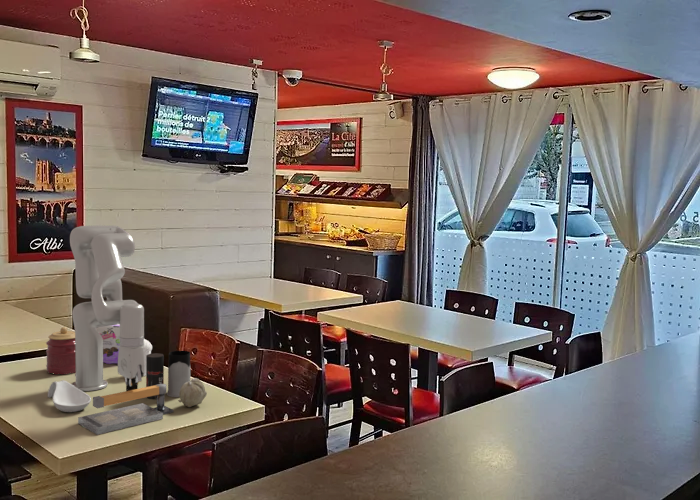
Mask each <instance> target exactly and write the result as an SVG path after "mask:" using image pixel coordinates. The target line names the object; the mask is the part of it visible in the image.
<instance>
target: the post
mask: <svg viewBox="0 0 700 500" xmlns="http://www.w3.org/2000/svg"><path fill="white" fill-rule="evenodd" d="M153 408H154V409H156V410H158V411H160V412H162V413H163V415H168V414H171V413H174V409H173V408H171V407H168V406H166V405H165V394H159V395H157V399H156V407H153Z"/></svg>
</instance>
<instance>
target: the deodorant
mask: <svg viewBox="0 0 700 500" xmlns="http://www.w3.org/2000/svg"><path fill="white" fill-rule="evenodd" d="M164 355H165V354H163V353H157V352H156V353H154V352H153V353H151V354H148V355H146V376H145V377H146V378H145V381H146V382H145V383H146V385H145V387H149V386H154V385H157V384H165V383H164V380H165V379H164V376H165V375H164V373H165V372H164V370H165V369H164V365H165V363H164V362H165V360H164V359H165V357H164ZM145 398H147V399H149V400H157V395H154V396H149V397H145Z"/></svg>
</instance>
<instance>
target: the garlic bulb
mask: <svg viewBox="0 0 700 500" xmlns="http://www.w3.org/2000/svg"><path fill="white" fill-rule="evenodd" d="M207 393H208V392H207V391H206V388H205V386H204V384H203V382H202V381H201V380H200V379H199V378H197V377H193V378H192V379H190V381H189V382H186V383H184V384H183V385H182V387H181V389H180V392H179V396H180V397H179V399H177V402H179V403H182V404H183V405H184V406H186V407H188V408H191V407H193V406H198V405H200V404H202V402H203V400H204V399H205V398H206V397H207Z"/></svg>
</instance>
